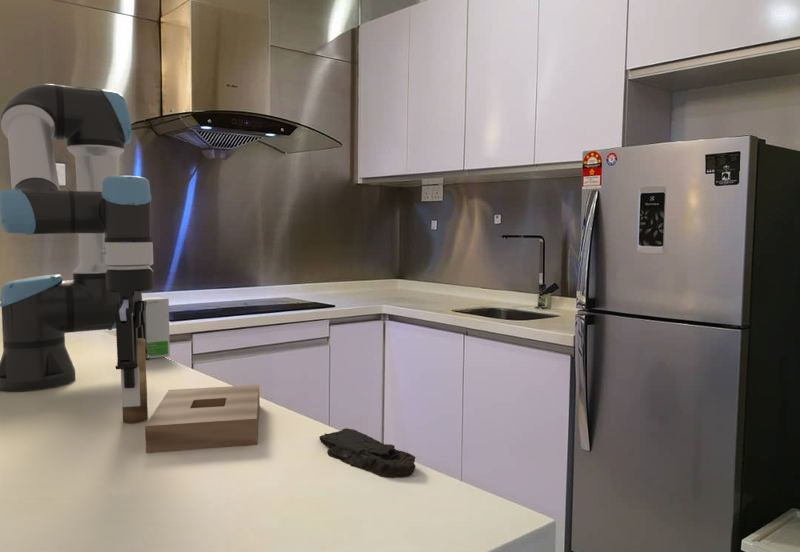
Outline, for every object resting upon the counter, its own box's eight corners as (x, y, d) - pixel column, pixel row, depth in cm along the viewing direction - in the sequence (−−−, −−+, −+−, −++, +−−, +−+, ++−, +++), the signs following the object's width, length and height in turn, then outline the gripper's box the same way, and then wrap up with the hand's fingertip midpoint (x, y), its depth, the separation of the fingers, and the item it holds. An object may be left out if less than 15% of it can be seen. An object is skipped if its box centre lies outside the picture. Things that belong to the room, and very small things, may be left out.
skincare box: (139, 360, 161) (136, 300, 160) (130, 357, 166) (128, 298, 165) (171, 356, 166) (169, 297, 165) (162, 352, 171) (160, 296, 170)
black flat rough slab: (302, 443, 97) (302, 424, 97) (343, 434, 101) (343, 415, 101) (382, 491, 79) (382, 467, 79) (428, 477, 84) (428, 454, 83)
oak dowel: (125, 417, 110) (122, 338, 110) (149, 415, 111) (146, 337, 110) (120, 424, 107) (117, 342, 106) (145, 422, 107) (142, 341, 106)
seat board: (169, 411, 114) (168, 389, 114) (259, 405, 117) (259, 384, 117) (145, 452, 92) (144, 426, 92) (257, 444, 96) (256, 418, 95)
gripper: (118, 265, 115) (123, 390, 117) (91, 271, 98) (97, 417, 99) (161, 264, 116) (165, 388, 118) (142, 270, 99) (148, 414, 101)
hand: (134, 401), depth 109 cm, fingers open, 4 cm apart
